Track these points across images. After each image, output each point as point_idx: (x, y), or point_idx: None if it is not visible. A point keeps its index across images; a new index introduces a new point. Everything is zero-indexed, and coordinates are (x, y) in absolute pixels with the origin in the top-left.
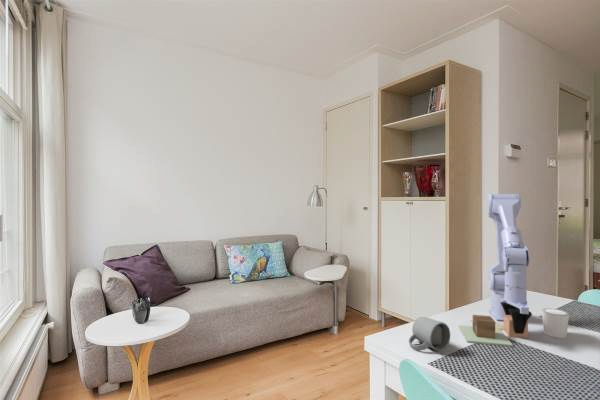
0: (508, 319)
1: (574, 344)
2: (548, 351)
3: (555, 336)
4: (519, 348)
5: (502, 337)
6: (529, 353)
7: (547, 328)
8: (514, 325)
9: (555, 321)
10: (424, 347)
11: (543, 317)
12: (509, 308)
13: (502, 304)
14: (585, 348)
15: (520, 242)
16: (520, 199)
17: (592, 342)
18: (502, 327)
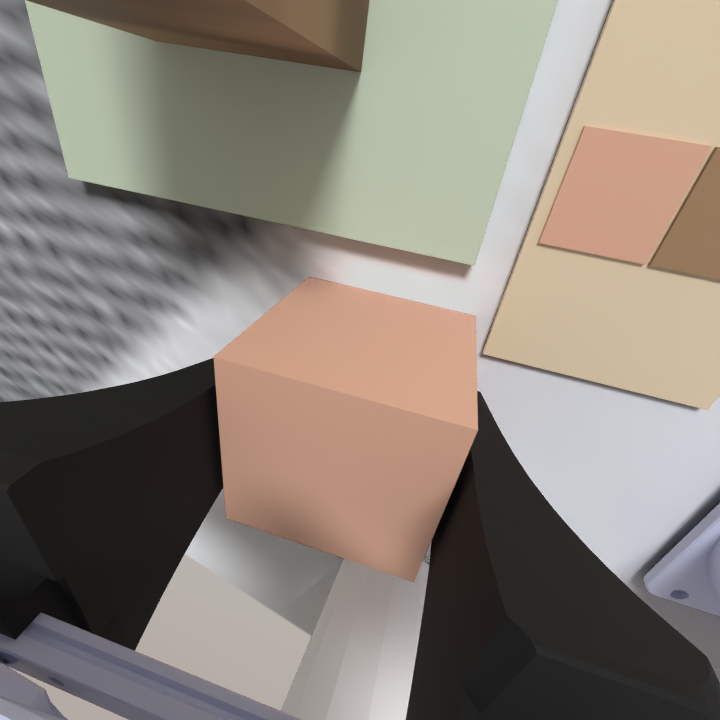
0: (248, 365)
1: (260, 558)
2: (114, 385)
3: (346, 560)
4: (74, 217)
5: (212, 161)
6: (20, 243)
7: (364, 590)
8: (206, 361)
9: (299, 673)
10: None
11: (384, 683)
12: (455, 609)
13: (522, 633)
14: (223, 560)
15: None
16: None
17: (302, 626)
18: (539, 342)
